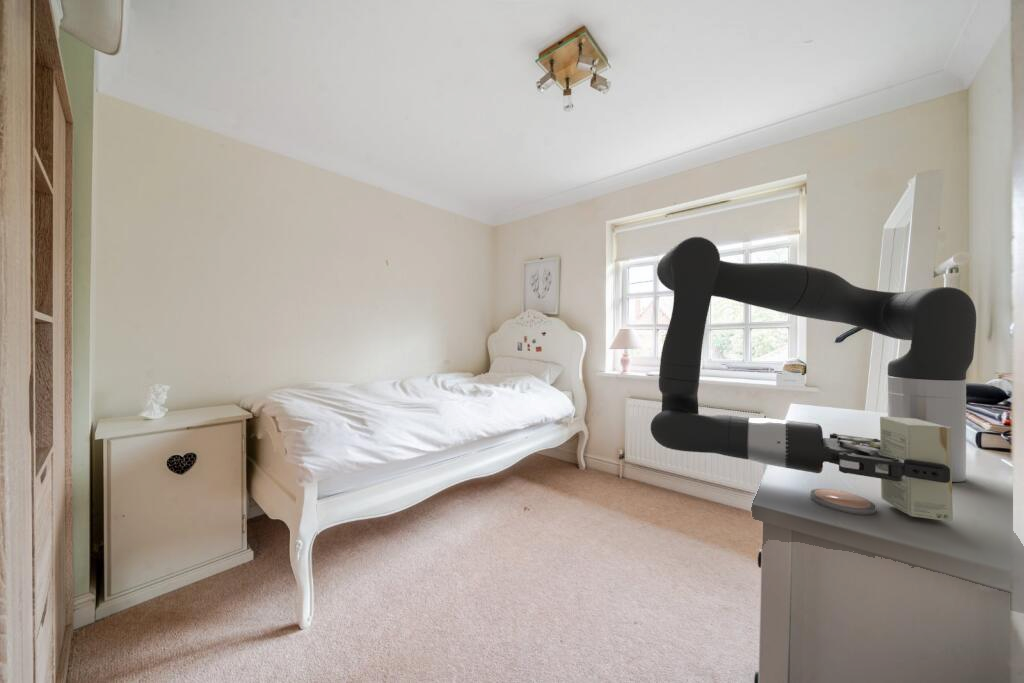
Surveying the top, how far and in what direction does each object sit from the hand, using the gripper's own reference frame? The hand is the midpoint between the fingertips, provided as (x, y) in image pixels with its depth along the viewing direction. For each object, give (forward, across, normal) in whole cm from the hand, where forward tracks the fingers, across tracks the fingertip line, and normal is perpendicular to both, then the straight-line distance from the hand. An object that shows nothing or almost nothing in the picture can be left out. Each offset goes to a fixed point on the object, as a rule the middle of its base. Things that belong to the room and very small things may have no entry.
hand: (938, 465), depth 47 cm
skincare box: (-2, 0, +7) cm, 7 cm away
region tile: (-10, -2, +7) cm, 12 cm away
